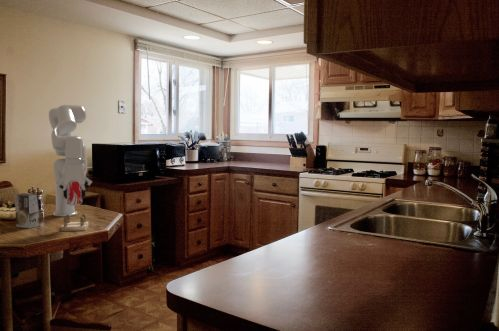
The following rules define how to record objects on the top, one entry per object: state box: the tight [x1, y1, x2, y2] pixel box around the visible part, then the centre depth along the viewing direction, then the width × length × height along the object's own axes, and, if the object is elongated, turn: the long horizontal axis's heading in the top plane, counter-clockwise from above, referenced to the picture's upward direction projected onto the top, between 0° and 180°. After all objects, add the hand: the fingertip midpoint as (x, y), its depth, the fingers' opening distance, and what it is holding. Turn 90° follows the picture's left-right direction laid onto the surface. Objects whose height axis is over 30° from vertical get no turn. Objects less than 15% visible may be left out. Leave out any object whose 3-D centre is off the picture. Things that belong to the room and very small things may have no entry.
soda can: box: [67, 181, 83, 207], centre depth 204 cm, size 7×7×12 cm
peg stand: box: [60, 213, 89, 232], centre depth 205 cm, size 11×11×6 cm
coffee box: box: [14, 192, 40, 229], centre depth 206 cm, size 9×6×16 cm
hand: (74, 198), depth 204 cm, fingers closed on soda can, 7 cm apart
